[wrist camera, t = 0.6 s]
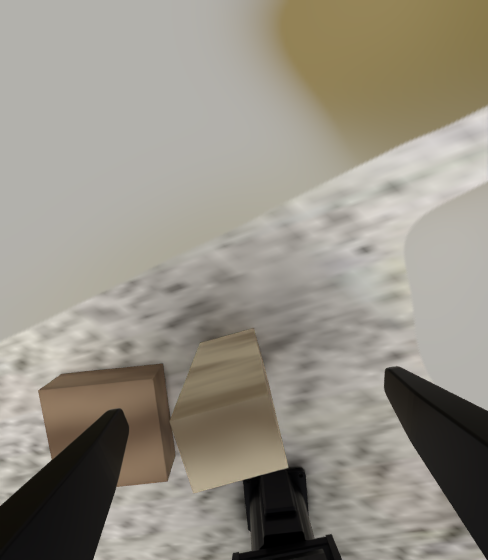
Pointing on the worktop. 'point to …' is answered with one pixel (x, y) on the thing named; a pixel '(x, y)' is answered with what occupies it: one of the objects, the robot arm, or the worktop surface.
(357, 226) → the worktop surface
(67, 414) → the walnut block
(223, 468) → the ash block
